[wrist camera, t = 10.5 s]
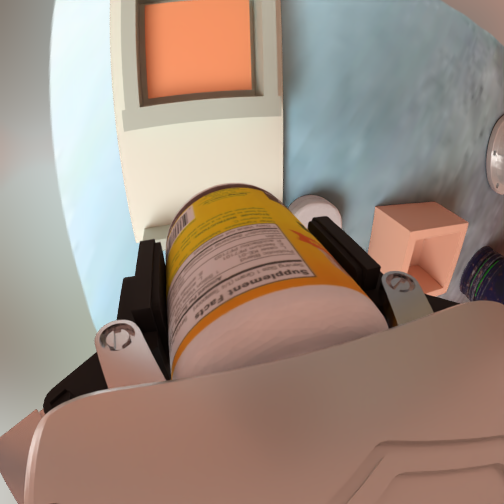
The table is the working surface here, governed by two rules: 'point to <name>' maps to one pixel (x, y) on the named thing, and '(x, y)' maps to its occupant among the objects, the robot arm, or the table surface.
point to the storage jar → (484, 277)
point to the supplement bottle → (253, 285)
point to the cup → (418, 242)
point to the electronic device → (314, 209)
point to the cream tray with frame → (194, 123)
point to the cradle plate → (197, 47)
